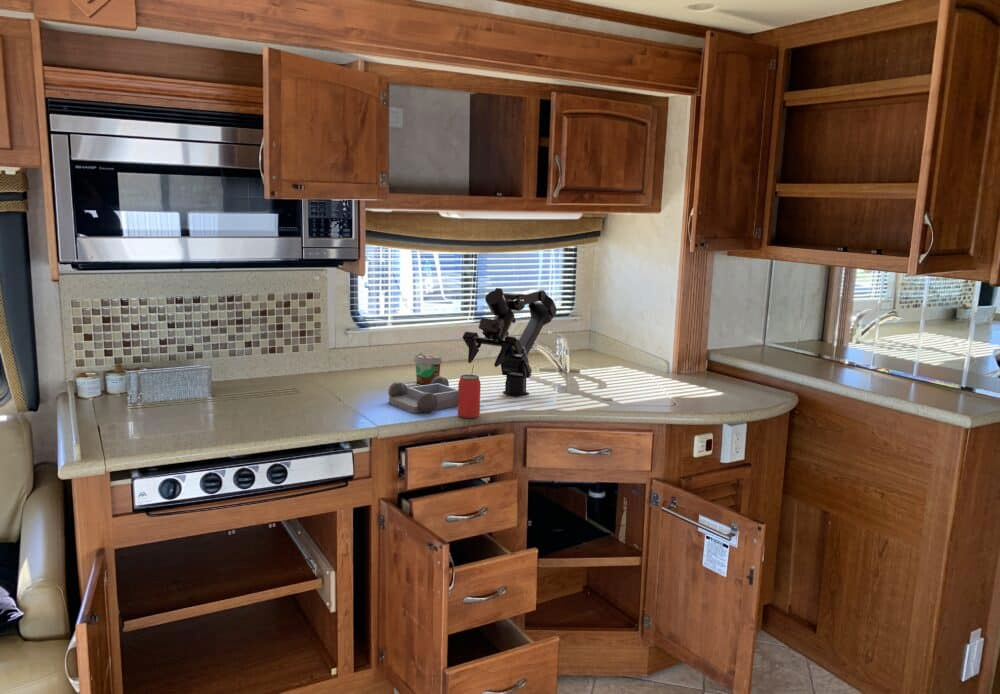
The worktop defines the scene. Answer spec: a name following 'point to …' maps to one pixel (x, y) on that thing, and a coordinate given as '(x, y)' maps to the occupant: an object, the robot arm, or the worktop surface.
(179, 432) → the worktop surface
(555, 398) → the worktop surface
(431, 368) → the food container
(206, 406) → the worktop surface
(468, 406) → the beer can
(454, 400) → the chassis
